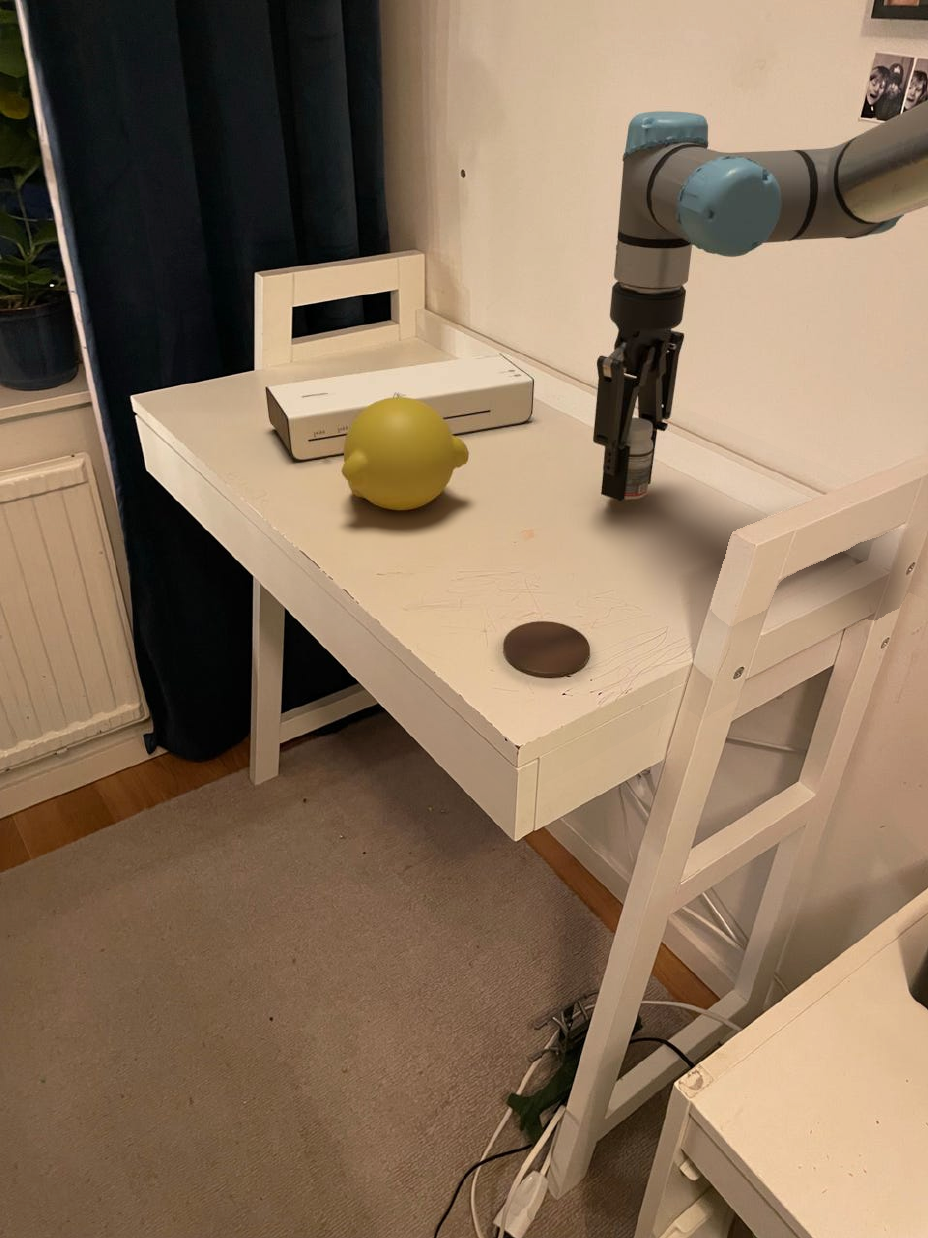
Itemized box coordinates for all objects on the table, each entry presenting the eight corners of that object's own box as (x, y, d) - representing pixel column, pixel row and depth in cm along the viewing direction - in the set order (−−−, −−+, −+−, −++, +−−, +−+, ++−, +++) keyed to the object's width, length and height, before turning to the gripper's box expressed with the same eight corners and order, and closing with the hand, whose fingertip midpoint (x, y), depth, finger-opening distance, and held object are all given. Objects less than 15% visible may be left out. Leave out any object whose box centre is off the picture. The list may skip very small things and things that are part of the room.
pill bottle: (601, 483, 111) (607, 416, 106) (639, 480, 111) (647, 414, 106) (613, 502, 107) (620, 433, 102) (652, 498, 107) (661, 430, 103)
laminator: (291, 463, 118) (286, 417, 114) (268, 426, 127) (262, 382, 123) (532, 422, 129) (534, 379, 125) (494, 390, 138) (496, 349, 135)
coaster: (606, 648, 87) (606, 644, 87) (554, 689, 82) (554, 684, 82) (538, 615, 91) (539, 611, 91) (485, 651, 86) (485, 647, 86)
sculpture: (431, 447, 117) (448, 365, 106) (469, 523, 111) (491, 444, 100) (315, 467, 112) (321, 382, 101) (349, 548, 106) (359, 467, 95)
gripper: (664, 260, 103) (640, 455, 116) (568, 294, 92) (553, 504, 106) (725, 273, 99) (693, 473, 112) (632, 309, 88) (609, 526, 101)
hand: (625, 488), depth 109 cm, fingers closed on pill bottle, 5 cm apart
